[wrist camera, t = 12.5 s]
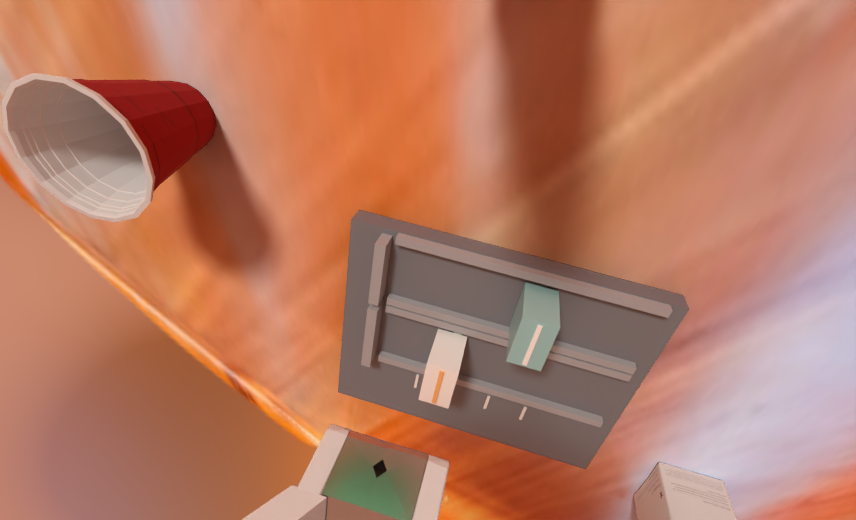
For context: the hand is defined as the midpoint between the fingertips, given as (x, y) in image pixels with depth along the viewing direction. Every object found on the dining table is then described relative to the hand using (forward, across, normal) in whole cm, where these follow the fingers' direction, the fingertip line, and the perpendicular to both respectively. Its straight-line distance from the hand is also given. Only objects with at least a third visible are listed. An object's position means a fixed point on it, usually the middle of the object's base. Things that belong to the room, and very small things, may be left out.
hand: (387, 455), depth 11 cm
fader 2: (+27, -7, +14) cm, 31 cm away
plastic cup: (+29, +28, +5) cm, 41 cm away
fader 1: (+27, -1, +22) cm, 35 cm away
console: (+29, -4, +22) cm, 37 cm away
